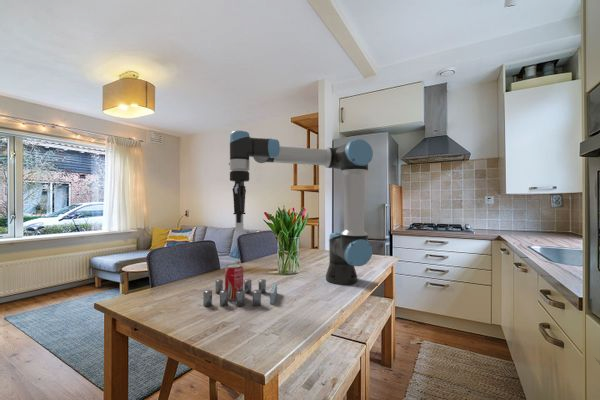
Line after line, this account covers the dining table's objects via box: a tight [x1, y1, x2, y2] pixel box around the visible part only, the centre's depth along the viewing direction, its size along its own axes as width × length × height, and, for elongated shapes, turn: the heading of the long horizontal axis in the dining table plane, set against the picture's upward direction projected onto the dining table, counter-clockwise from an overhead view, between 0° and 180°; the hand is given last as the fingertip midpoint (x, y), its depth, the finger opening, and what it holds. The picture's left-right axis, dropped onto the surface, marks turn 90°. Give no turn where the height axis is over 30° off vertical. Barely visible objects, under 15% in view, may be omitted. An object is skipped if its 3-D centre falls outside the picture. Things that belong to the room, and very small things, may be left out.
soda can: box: [224, 262, 244, 302], centre depth 106 cm, size 7×7×13 cm
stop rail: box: [269, 283, 278, 305], centre depth 106 cm, size 2×12×4 cm, turn 0°
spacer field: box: [202, 278, 267, 308], centre depth 106 cm, size 21×17×5 cm
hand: (239, 230), depth 106 cm, fingers closed
